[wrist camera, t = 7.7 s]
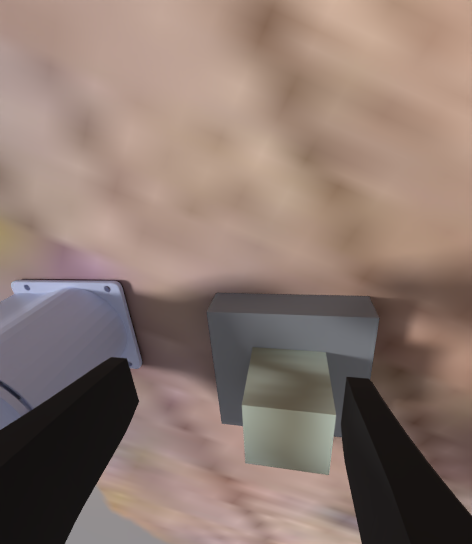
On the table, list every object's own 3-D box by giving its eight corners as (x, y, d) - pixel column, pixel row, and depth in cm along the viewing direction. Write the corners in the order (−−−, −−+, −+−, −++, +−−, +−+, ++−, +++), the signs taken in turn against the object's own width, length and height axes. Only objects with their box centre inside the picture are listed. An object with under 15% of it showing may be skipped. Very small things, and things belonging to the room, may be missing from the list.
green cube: (254, 398, 20) (245, 463, 16) (252, 347, 18) (241, 405, 14) (321, 405, 19) (328, 475, 15) (325, 352, 18) (336, 415, 13)
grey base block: (229, 392, 25) (221, 423, 22) (218, 289, 21) (206, 311, 18) (353, 404, 23) (361, 439, 20) (367, 292, 19) (379, 317, 16)
